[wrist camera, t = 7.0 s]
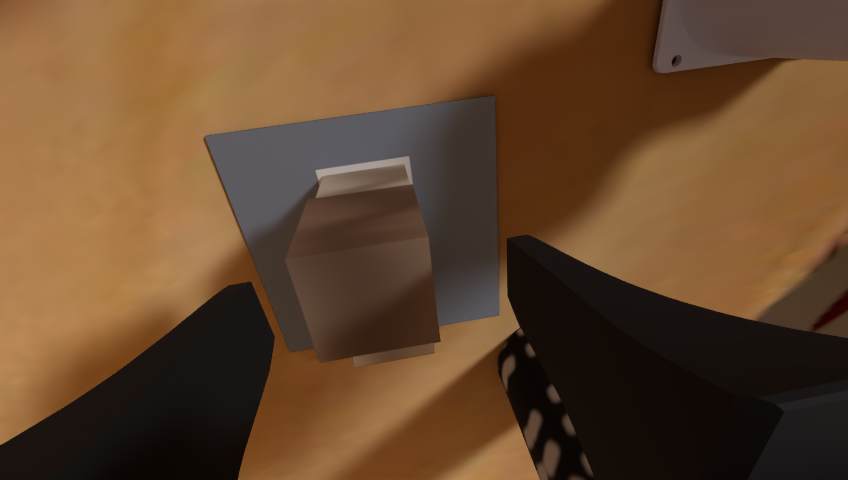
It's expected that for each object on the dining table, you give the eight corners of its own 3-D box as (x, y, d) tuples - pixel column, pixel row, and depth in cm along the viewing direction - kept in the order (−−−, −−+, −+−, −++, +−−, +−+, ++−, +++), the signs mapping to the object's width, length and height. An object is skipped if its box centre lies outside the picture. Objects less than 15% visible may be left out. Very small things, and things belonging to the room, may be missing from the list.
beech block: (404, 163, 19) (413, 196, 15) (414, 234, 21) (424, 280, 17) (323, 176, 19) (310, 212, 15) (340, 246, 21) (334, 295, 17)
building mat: (494, 95, 18) (495, 95, 18) (498, 313, 25) (499, 315, 25) (206, 135, 18) (204, 136, 17) (290, 349, 24) (289, 352, 24)
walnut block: (412, 183, 15) (428, 236, 11) (423, 270, 17) (440, 341, 13) (307, 199, 15) (284, 259, 11) (331, 285, 17) (320, 362, 13)
